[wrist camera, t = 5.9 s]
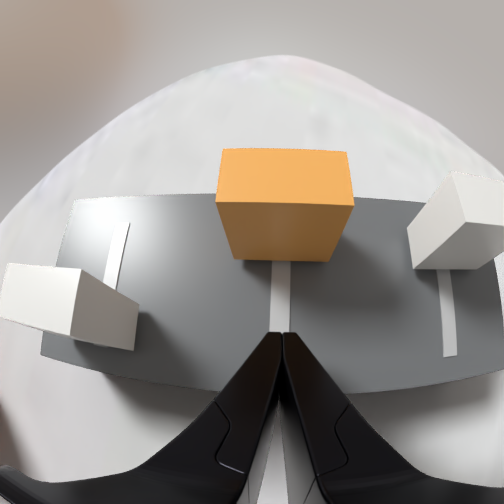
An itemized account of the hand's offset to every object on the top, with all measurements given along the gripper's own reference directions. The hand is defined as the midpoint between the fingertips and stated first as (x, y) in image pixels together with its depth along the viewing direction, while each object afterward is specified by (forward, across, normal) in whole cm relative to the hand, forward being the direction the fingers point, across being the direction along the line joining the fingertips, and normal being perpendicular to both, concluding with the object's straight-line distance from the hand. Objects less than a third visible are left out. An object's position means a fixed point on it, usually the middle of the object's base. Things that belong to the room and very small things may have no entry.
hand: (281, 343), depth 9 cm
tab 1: (+1, +7, +1) cm, 7 cm away
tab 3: (+4, -7, -2) cm, 8 cm away
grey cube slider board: (+6, 0, +3) cm, 7 cm away
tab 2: (+4, 0, -2) cm, 4 cm away
